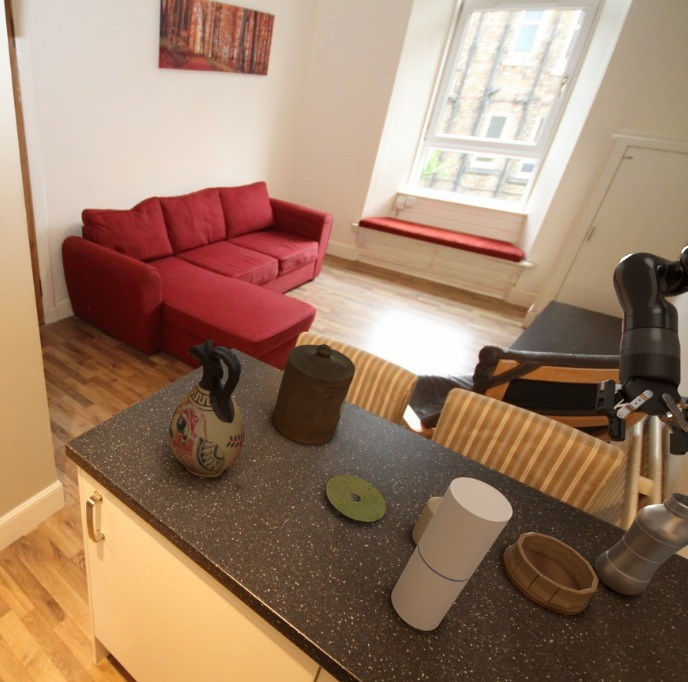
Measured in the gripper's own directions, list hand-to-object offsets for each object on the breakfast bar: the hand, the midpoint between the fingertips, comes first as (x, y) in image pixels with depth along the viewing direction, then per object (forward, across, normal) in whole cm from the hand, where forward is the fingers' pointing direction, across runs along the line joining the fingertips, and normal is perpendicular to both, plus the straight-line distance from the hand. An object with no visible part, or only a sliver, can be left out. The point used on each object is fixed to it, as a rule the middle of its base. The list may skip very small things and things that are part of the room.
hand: (647, 447), depth 76 cm
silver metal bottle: (+23, 0, +7) cm, 24 cm away
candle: (+25, -30, +5) cm, 39 cm away
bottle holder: (+26, -12, +4) cm, 29 cm away
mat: (+22, -43, +8) cm, 49 cm away
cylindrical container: (+35, -34, -5) cm, 49 cm away
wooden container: (+8, -54, +22) cm, 59 cm away
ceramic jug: (+23, -73, +7) cm, 77 cm away
